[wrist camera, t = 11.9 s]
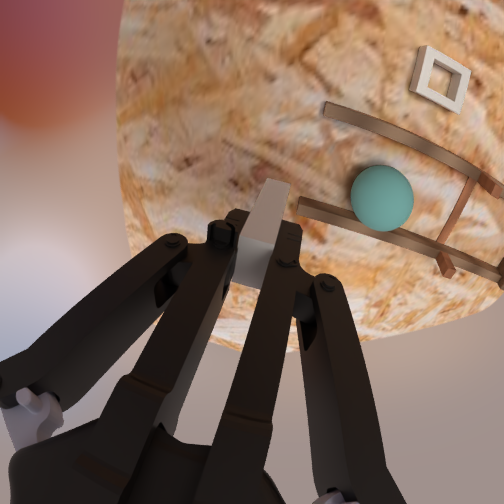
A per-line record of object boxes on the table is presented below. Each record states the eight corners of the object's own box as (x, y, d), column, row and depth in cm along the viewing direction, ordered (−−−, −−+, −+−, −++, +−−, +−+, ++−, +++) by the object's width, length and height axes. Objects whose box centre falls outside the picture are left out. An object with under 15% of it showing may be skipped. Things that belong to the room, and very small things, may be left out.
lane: (297, 206, 28) (293, 230, 24) (326, 101, 21) (327, 106, 17) (498, 276, 26) (510, 300, 22) (537, 211, 19) (555, 231, 15)
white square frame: (409, 90, 18) (415, 91, 16) (419, 46, 15) (427, 45, 13) (450, 111, 18) (459, 115, 16) (461, 70, 15) (471, 71, 13)
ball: (330, 199, 25) (359, 248, 22) (353, 149, 21) (393, 198, 17) (374, 198, 27) (403, 241, 24) (399, 155, 22) (436, 198, 19)
